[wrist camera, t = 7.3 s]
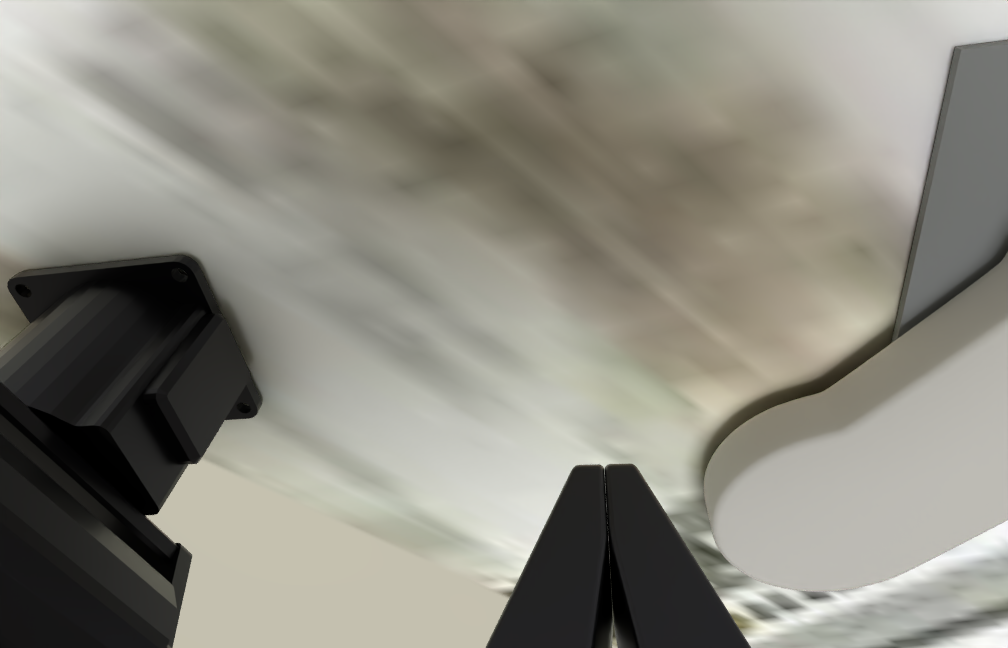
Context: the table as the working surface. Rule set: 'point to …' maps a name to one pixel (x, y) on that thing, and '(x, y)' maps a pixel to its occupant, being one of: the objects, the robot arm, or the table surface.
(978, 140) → the mat
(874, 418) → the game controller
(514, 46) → the table surface
